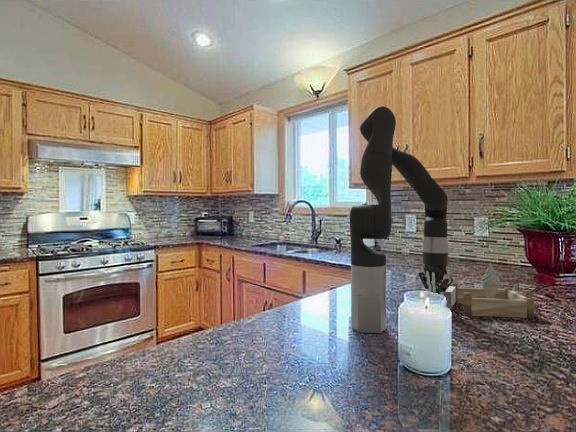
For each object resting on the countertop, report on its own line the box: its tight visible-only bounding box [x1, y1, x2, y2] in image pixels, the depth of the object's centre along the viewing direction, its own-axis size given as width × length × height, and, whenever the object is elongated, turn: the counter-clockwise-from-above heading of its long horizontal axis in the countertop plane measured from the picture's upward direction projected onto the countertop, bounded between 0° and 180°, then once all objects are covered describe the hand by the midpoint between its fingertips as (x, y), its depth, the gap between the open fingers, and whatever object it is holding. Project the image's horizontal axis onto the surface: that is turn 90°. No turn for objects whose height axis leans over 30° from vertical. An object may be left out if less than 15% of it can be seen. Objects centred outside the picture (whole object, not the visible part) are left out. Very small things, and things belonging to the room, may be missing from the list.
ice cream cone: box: [481, 262, 500, 299], centre depth 113 cm, size 5×5×15 cm
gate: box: [443, 286, 456, 310], centre depth 115 cm, size 11×2×5 cm, turn 147°
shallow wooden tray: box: [449, 282, 535, 319], centre depth 113 cm, size 16×19×6 cm
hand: (434, 303), depth 115 cm, fingers closed
